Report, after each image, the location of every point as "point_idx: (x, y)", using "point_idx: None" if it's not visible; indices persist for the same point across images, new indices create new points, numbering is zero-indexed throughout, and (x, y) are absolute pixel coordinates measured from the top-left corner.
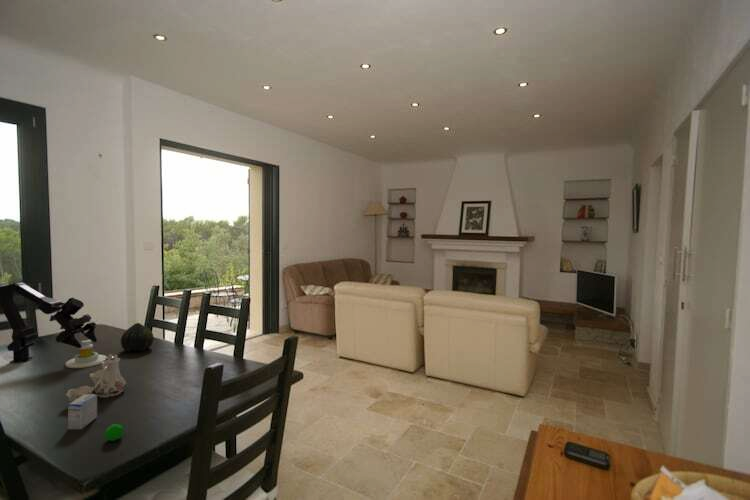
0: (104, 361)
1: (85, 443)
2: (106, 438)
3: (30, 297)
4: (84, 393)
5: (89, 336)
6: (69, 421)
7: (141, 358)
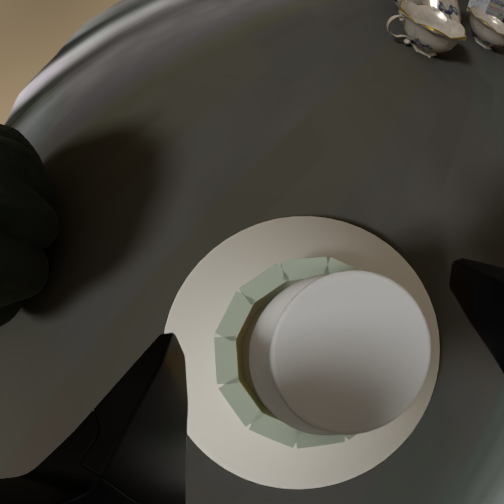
0: None
1: None
2: None
3: None
4: (480, 32)
5: (166, 488)
6: (502, 16)
7: (143, 110)
